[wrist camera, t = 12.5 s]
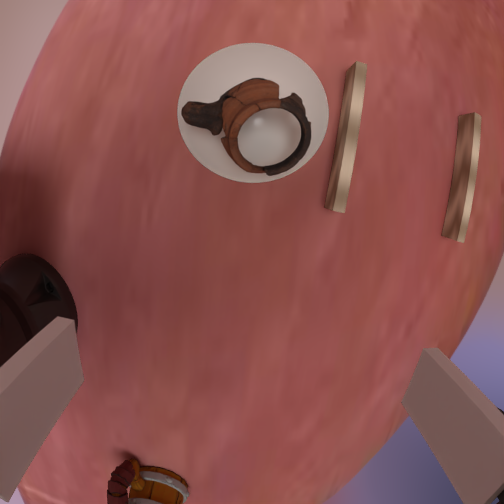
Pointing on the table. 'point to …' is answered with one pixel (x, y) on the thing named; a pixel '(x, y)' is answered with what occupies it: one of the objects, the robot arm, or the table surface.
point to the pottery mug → (239, 110)
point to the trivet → (261, 123)
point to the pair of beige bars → (347, 146)
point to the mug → (145, 485)
